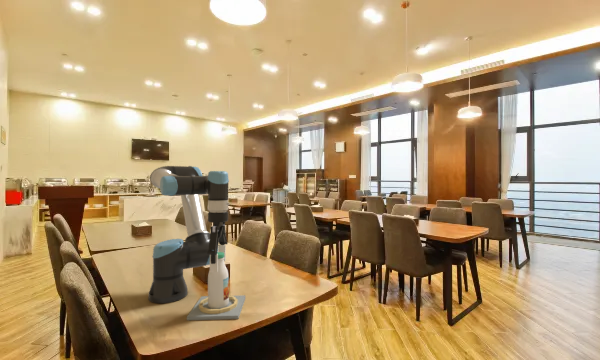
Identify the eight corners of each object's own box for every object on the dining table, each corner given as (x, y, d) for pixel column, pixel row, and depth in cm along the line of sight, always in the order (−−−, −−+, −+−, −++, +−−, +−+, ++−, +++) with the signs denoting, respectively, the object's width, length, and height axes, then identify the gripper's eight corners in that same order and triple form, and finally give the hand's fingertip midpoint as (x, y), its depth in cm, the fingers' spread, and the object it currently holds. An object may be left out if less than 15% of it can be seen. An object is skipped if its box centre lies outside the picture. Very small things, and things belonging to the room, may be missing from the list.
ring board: (186, 320, 102) (186, 313, 102) (201, 299, 120) (201, 293, 120) (238, 318, 103) (238, 312, 103) (245, 298, 121) (245, 292, 121)
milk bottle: (217, 311, 107) (217, 256, 107) (203, 306, 111) (203, 254, 111) (233, 303, 113) (232, 252, 113) (219, 299, 117) (218, 249, 117)
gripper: (220, 215, 100) (220, 277, 100) (233, 207, 125) (233, 256, 125) (198, 215, 99) (198, 277, 100) (216, 207, 124) (216, 257, 124)
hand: (218, 266), depth 112 cm, fingers open, 13 cm apart
